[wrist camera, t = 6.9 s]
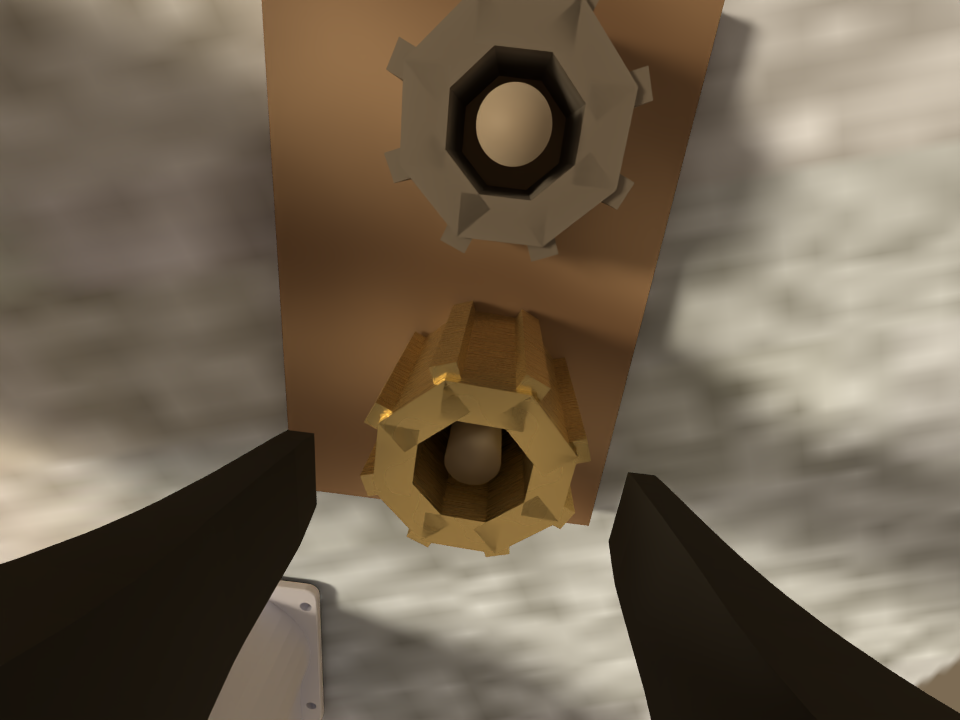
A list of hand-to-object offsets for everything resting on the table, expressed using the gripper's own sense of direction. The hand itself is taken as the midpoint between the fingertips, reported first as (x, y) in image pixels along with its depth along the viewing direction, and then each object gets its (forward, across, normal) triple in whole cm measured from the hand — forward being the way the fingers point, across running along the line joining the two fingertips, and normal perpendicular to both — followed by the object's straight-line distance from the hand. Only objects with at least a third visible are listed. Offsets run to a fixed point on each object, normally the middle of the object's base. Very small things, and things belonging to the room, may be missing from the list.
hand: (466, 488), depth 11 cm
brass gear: (+5, 0, 0) cm, 5 cm away
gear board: (+6, +1, -3) cm, 7 cm away
